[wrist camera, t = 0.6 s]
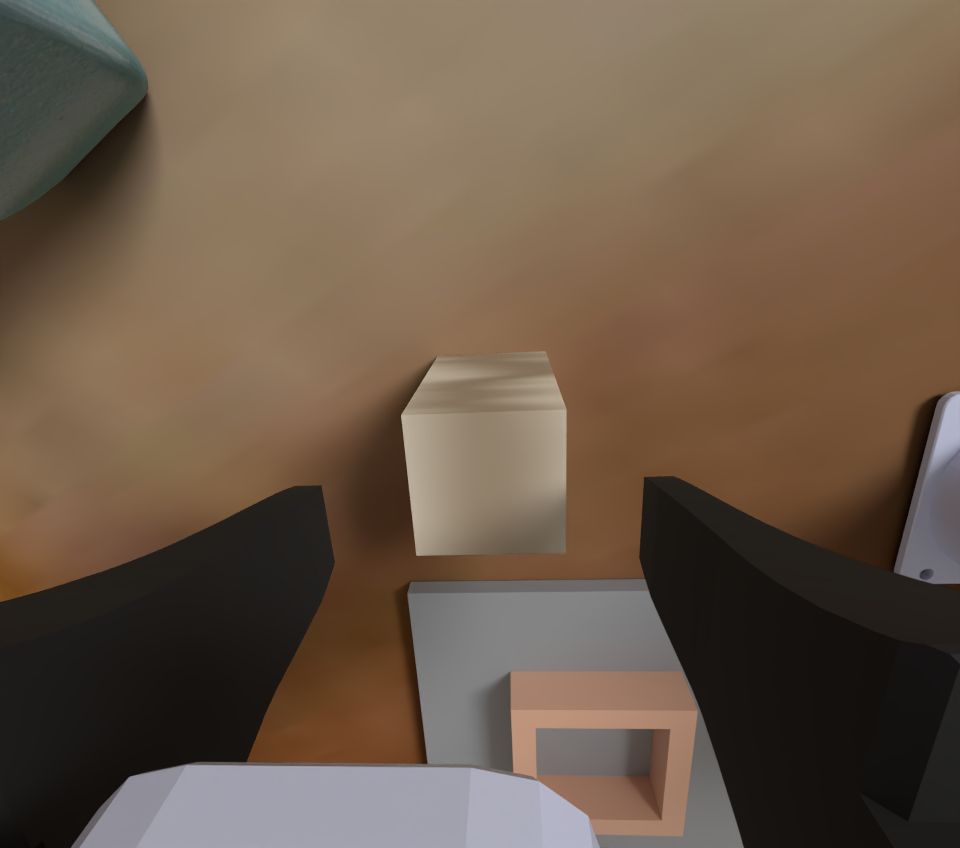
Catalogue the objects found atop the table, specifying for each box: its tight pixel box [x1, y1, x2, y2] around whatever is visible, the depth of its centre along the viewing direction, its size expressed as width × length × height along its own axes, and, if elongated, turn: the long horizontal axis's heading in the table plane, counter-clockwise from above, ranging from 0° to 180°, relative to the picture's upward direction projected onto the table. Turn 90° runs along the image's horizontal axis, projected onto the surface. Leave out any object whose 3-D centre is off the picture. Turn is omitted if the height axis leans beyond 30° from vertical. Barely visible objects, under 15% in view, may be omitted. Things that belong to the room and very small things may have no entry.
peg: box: [401, 351, 566, 556], centre depth 16 cm, size 4×4×7 cm
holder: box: [407, 579, 744, 848], centre depth 23 cm, size 16×16×3 cm
